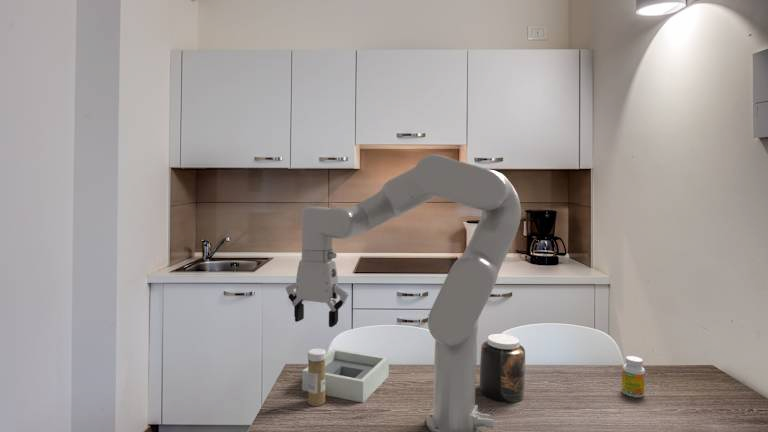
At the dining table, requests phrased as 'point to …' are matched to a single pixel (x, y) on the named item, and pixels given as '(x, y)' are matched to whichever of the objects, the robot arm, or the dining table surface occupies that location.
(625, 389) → the supplement bottle
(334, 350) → the open box
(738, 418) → the dining table surface
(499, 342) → the jar
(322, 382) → the sprinkles bottle
